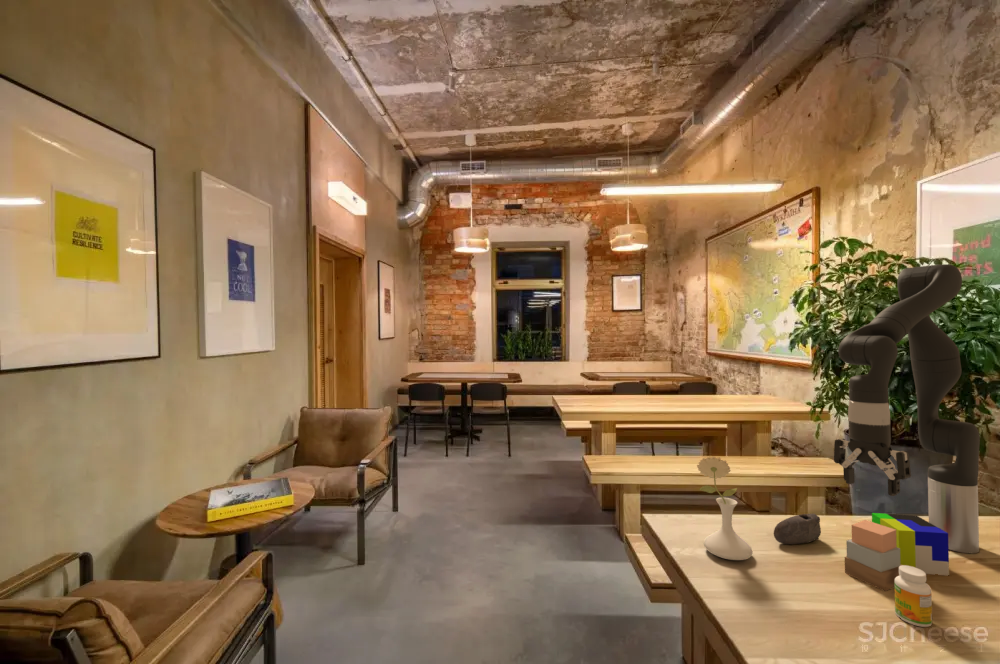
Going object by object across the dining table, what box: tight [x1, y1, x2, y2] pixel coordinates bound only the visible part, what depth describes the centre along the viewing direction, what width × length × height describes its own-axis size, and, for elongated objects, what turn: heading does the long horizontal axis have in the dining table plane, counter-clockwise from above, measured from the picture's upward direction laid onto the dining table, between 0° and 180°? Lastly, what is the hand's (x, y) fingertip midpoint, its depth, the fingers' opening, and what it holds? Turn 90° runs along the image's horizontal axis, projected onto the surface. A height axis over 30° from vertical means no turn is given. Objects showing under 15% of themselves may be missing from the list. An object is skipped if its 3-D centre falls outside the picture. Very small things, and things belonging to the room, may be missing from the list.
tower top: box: [846, 538, 900, 572], centre depth 101 cm, size 7×7×4 cm
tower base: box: [844, 555, 902, 592], centre depth 101 cm, size 8×8×4 cm
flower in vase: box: [696, 455, 754, 561], centre depth 114 cm, size 13×11×25 cm
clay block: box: [851, 519, 896, 553], centre depth 101 cm, size 6×6×4 cm
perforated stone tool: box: [773, 513, 822, 545], centre depth 119 cm, size 15×5×7 cm, turn 102°
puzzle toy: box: [871, 512, 950, 576], centre depth 107 cm, size 10×10×10 cm
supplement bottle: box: [894, 565, 933, 628], centre depth 87 cm, size 5×5×10 cm
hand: (870, 489), depth 102 cm, fingers open, 8 cm apart
